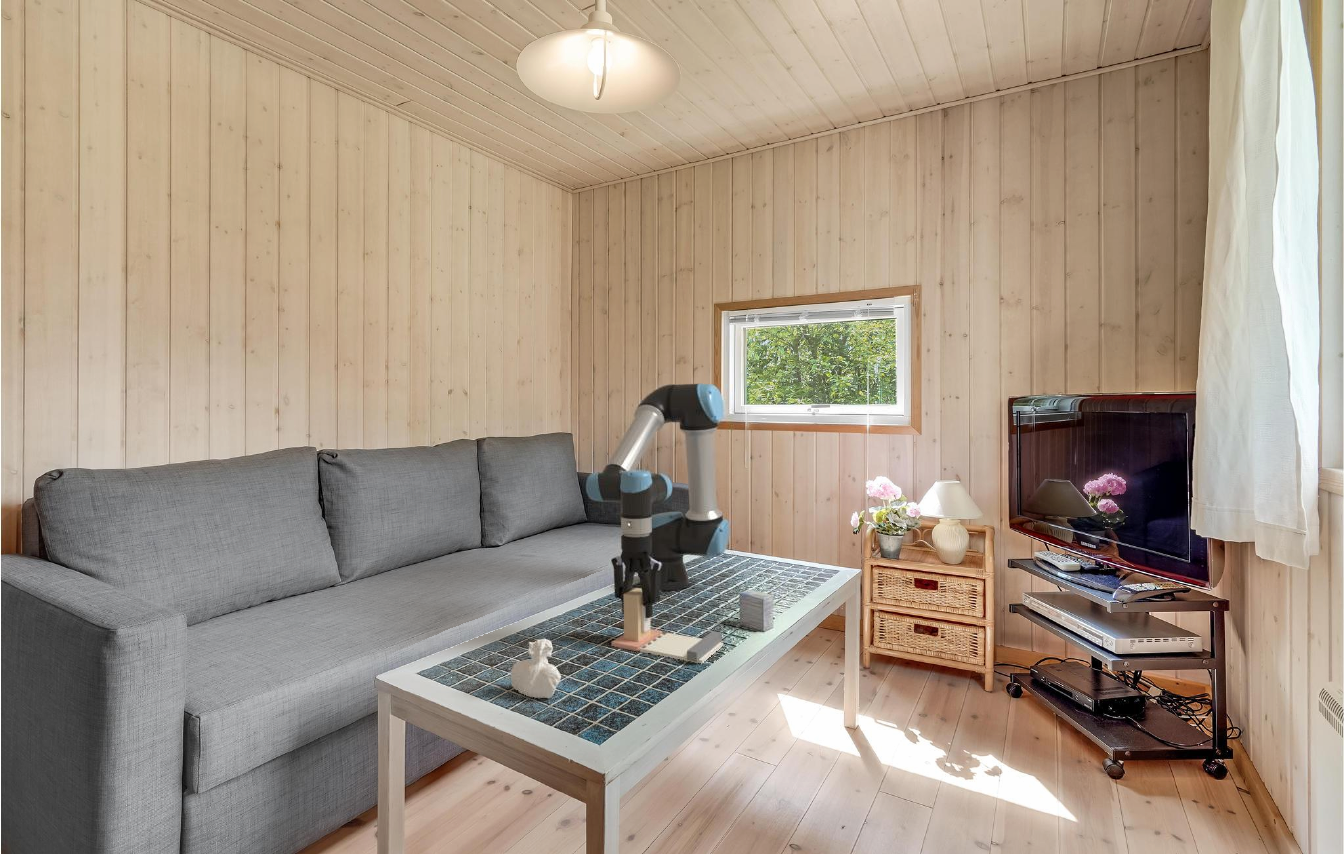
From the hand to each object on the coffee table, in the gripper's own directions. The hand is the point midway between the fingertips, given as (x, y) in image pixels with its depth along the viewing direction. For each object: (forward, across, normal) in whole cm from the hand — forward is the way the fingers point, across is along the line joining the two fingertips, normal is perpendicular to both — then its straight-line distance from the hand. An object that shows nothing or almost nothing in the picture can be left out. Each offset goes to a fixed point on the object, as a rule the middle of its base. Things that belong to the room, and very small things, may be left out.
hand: (637, 628), depth 157 cm
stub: (+3, 0, 0) cm, 3 cm away
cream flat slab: (+3, +12, 0) cm, 13 cm away
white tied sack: (+3, -4, -33) cm, 33 cm away
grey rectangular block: (+3, +22, +23) cm, 32 cm away
